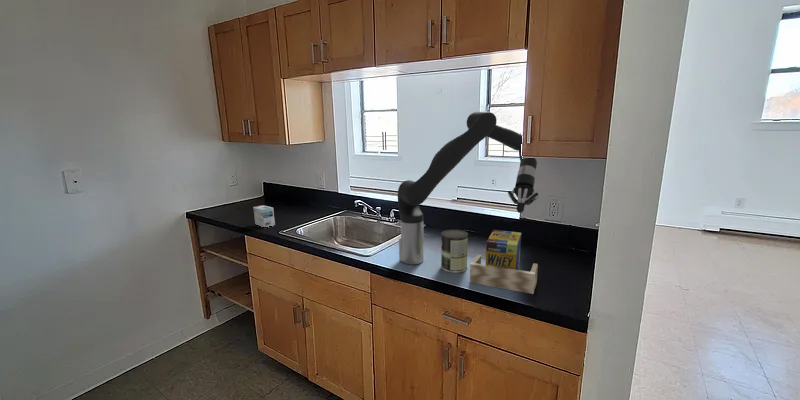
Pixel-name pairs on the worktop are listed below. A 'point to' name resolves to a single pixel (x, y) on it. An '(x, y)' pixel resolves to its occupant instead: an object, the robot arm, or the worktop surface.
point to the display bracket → (503, 276)
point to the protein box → (503, 249)
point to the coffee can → (454, 250)
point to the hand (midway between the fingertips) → (519, 211)
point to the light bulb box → (264, 216)
